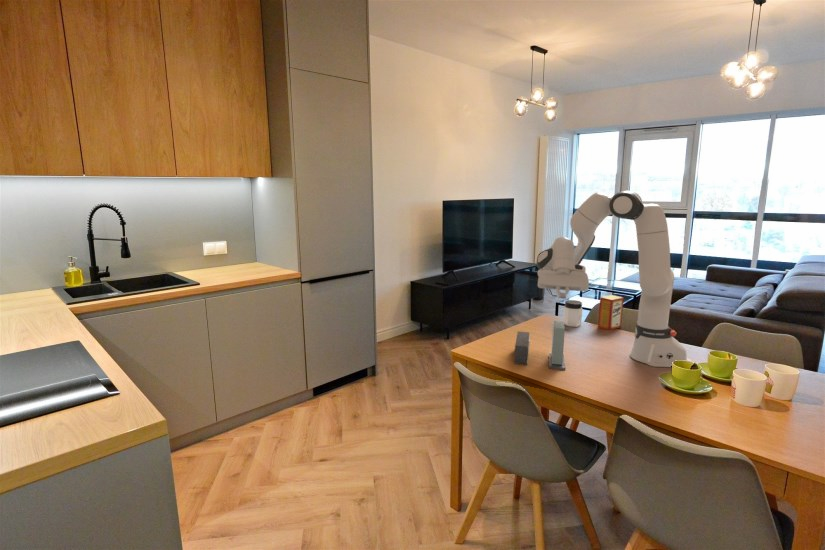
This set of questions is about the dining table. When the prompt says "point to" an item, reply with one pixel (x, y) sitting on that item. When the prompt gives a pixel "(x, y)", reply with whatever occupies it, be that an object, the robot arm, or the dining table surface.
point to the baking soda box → (610, 312)
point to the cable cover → (558, 342)
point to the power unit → (522, 348)
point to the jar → (572, 313)
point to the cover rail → (556, 366)
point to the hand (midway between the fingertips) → (562, 297)
